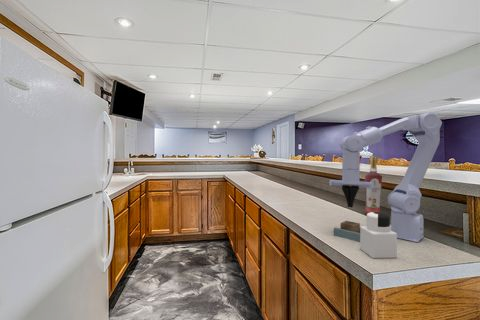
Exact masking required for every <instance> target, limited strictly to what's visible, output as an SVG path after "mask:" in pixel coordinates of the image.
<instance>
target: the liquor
mask: <svg viewBox="0 0 480 320" xmlns="http://www.w3.org/2000/svg"><path fill="white" fill-rule="evenodd" d="M377 160H378V158H377V156H370V168H369V172H368V173H366V174H365V175H364V182H374V188H364V192H365V211H364V213H365V214H366V215H367V214H368V213H370V212H381V196H382V187H383V186H382V184H383V176H382V175H381V174H380V173H378V171H377V170H378V169H377Z"/></svg>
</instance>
